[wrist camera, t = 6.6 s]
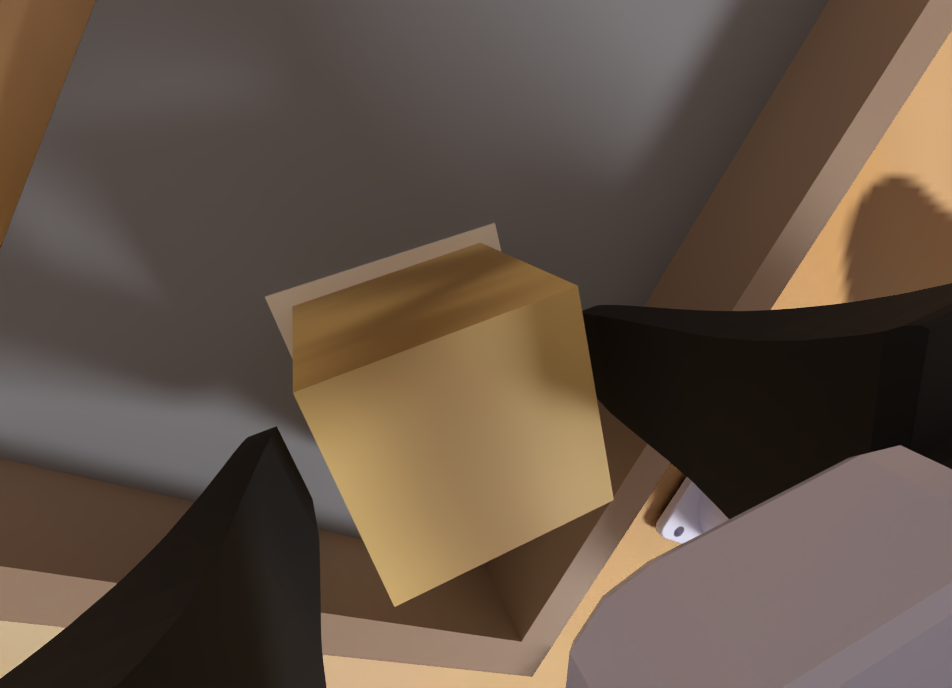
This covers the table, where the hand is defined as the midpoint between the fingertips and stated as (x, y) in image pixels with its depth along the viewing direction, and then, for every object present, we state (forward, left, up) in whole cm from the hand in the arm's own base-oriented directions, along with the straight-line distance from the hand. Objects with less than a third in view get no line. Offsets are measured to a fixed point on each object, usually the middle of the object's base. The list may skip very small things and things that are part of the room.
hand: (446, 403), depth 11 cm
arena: (+1, -5, -4) cm, 6 cm away
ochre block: (0, 0, -2) cm, 3 cm away
